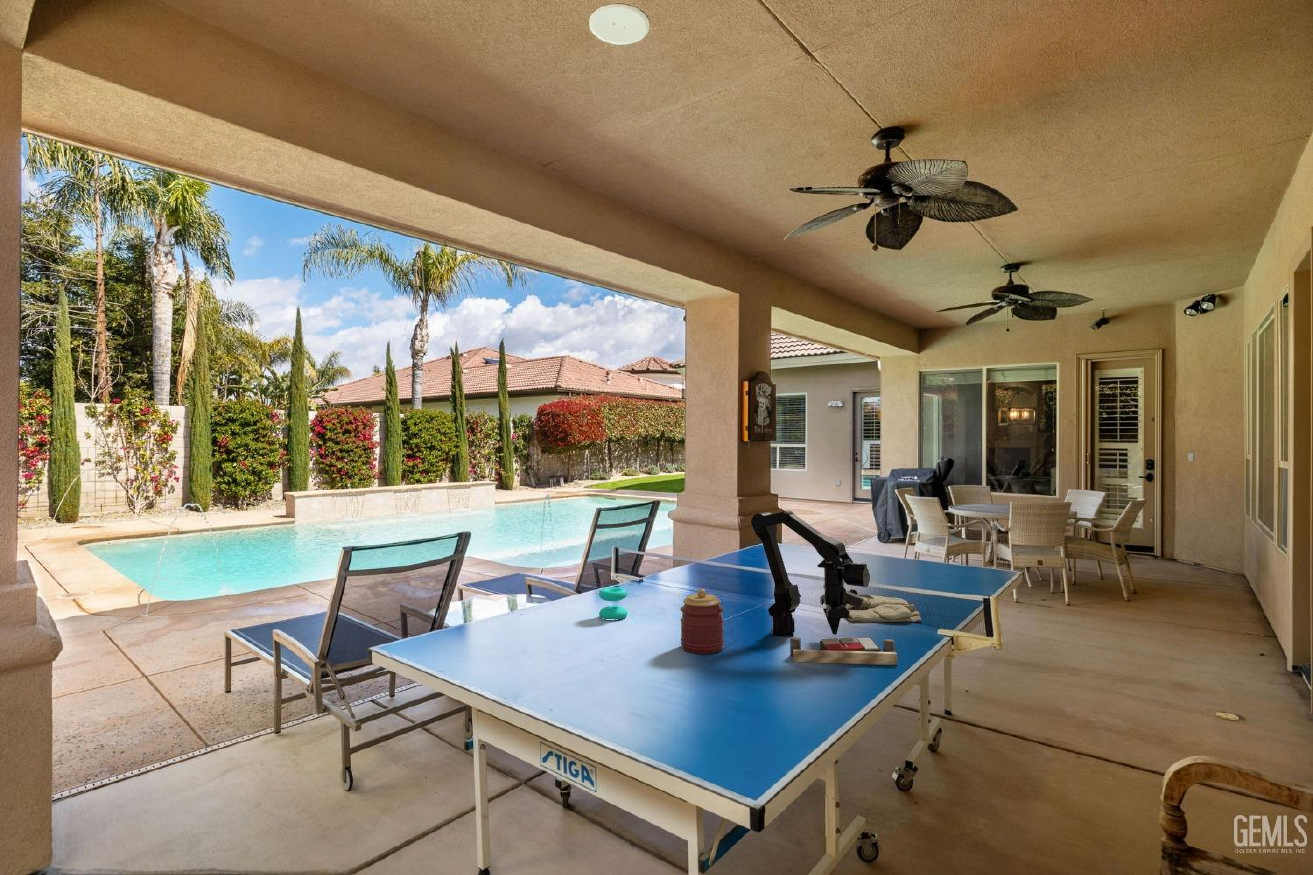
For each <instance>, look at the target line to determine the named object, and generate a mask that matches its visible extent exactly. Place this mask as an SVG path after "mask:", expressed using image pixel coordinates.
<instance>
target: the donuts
mask: <svg viewBox="0 0 1313 875" xmlns="http://www.w3.org/2000/svg"><path fill="white" fill-rule="evenodd" d="M598 592H599V593H598V596H599V598H600V599H602V600H603V601H605V602H620V601H623V600H624V599H625V598H627V595H628V591H627V590H626V589H625V588H624V587H618V586H617V587H614V586H613V587H605V588H601V589H600V590H599V591H598ZM598 616H599V617H600V619H602V618H604V619H621V620H623V619H622V618H624V619H625V618H626V617H627V616H628V611H627V609H626V608H625V607H623V606H620V605H607V606H604V607H602V608H601V609H600V610H599V612H598ZM604 619H603V620H604Z"/></svg>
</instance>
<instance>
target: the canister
mask: <svg viewBox="0 0 1313 875" xmlns="http://www.w3.org/2000/svg"><path fill="white" fill-rule="evenodd" d="M682 601H683V603H684V604H683V605H682V606H681V607H680V609H679V610H680V611H681V612H682V614H681V615H682V616H681V618H680V626H681V628H680V629H681V632H680V633H681V635H680V636H681V637H680V644H681V649H682V650H683V651H685V652H687V653H691V654H697V655H698V654H699V655H709V654H710V655H712V654H715V653H718V652H721V651H722V650H723V649H724V645H725V639H724V621H725V620H724V617H723V611H724V610H725V609H724V607H723V606H721V601H722V600H721V599H719V598H717V596H715V595H714V594H710V593H709V594H708V593H707V592H706V590H705V589H704V588H700V589H698V591H697V593H695V594H690V595H688V596H687V597H686V598H684V599H682Z"/></svg>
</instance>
